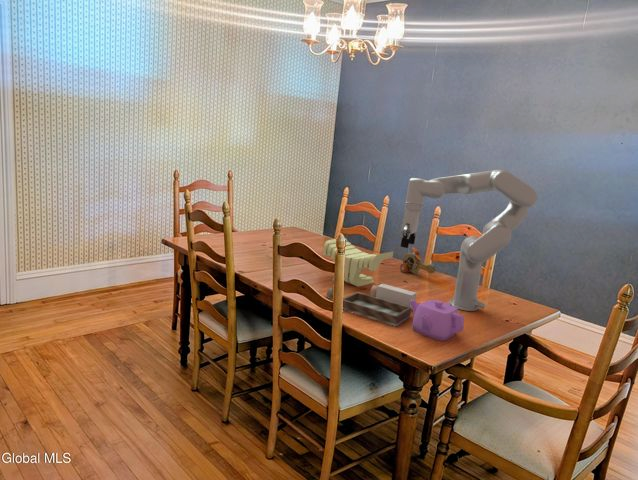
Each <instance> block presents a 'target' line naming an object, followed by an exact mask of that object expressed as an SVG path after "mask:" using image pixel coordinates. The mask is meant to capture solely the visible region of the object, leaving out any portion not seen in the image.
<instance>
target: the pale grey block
mask: <svg viewBox="0 0 638 480" xmlns="http://www.w3.org/2000/svg"><path fill="white" fill-rule="evenodd" d="M369 295H370V296H373V297H377V298H380V299H384V300H387V301H390V302H394V303H397V304H401V305H404V306H408V307H411V303H410V301H412V300H413V301H416V298H417V292H415V291H411V290H407V289H404V288H401V287H397V286H394V285H390V284H385V283H381V284H378V285H375V284H373V285H372V286H371V288H370V291H369ZM411 311H413V310H412V307H411Z"/></svg>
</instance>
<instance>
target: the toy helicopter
mask: <svg viewBox="0 0 638 480" xmlns="http://www.w3.org/2000/svg"><path fill="white" fill-rule="evenodd" d="M411 249H412V250H413V252H408V253H406V254H404V255H403V257H402V263H401V264H400V266H399V270H400V271H401V272H402V273H403V274H404V273H407V272H410V273H412V274H413V275H418V274H419V271H420V270H423V271H426V272H427V273H428V274H434V273H435V272H436V266H435V265H434V264H433V263H430V264H428V263H425V262H422V257H421V255H420V252H419V251H418V248H416V247H414V246H412V247H411Z"/></svg>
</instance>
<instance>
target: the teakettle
mask: <svg viewBox="0 0 638 480" xmlns="http://www.w3.org/2000/svg"><path fill="white" fill-rule="evenodd" d="M410 303H411V307H412V310H411V311H412V313H413V319H412V330H413V331H414V332H416V333H418V334H421V335H422V334H423V335H422V336H425V337H427V336H428V338H431V339H434V340H436V341H439V340H440V342H445V341H447V340H449V339H452V338H453V337H454V336H455V335H456V334H457V333H459V332H463V331H464V326H465V325H464V323H465V316H464V315H462V314H460V313H459V309H457V308H455V307H453V306H452V304H450V303H449V302H444V301H442V300H439V299H437V300H434V299H429V300H426V301H423V302H421V303H419V304H418V303H417V300H415V301H413V300H412V301H410Z"/></svg>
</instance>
